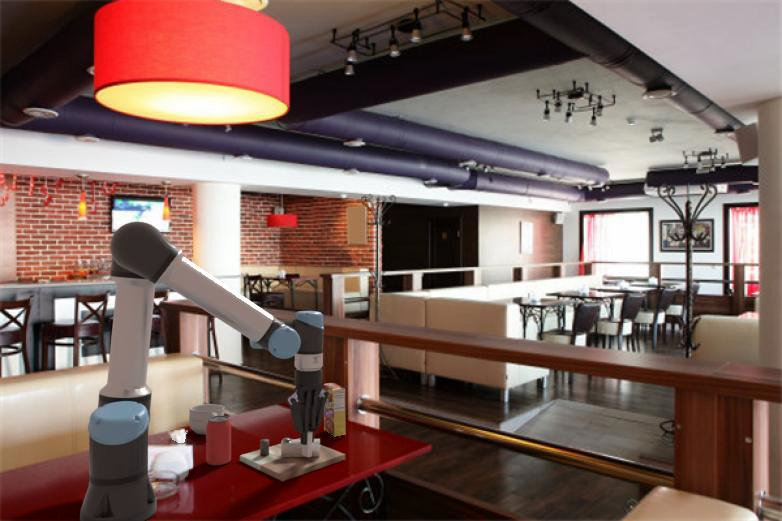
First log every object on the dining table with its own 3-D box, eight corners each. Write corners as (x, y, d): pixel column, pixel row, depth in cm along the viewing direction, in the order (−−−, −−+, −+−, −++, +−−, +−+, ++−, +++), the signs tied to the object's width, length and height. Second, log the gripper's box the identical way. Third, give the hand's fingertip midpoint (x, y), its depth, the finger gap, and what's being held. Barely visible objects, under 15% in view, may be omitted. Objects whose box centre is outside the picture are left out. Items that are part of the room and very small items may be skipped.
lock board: (282, 481, 142) (282, 459, 142) (240, 460, 156) (240, 440, 156) (345, 459, 157) (345, 439, 157) (301, 442, 171) (301, 424, 171)
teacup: (187, 429, 184) (187, 404, 184) (222, 425, 189) (222, 401, 188) (192, 442, 171) (191, 416, 171) (228, 437, 176) (228, 411, 176)
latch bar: (281, 458, 154) (281, 440, 154) (282, 454, 156) (282, 437, 156) (319, 457, 155) (319, 439, 155) (320, 453, 157) (320, 436, 157)
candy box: (322, 430, 183) (322, 383, 183) (335, 428, 185) (335, 382, 185) (333, 438, 175) (333, 389, 175) (346, 436, 177) (346, 388, 177)
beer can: (223, 467, 151) (223, 422, 151) (201, 465, 153) (201, 421, 153) (235, 458, 158) (235, 415, 158) (213, 456, 159) (213, 414, 159)
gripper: (297, 373, 146) (295, 465, 146) (335, 367, 155) (334, 453, 155) (280, 369, 151) (279, 457, 151) (318, 363, 160) (316, 447, 160)
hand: (306, 455), depth 153 cm, fingers closed
